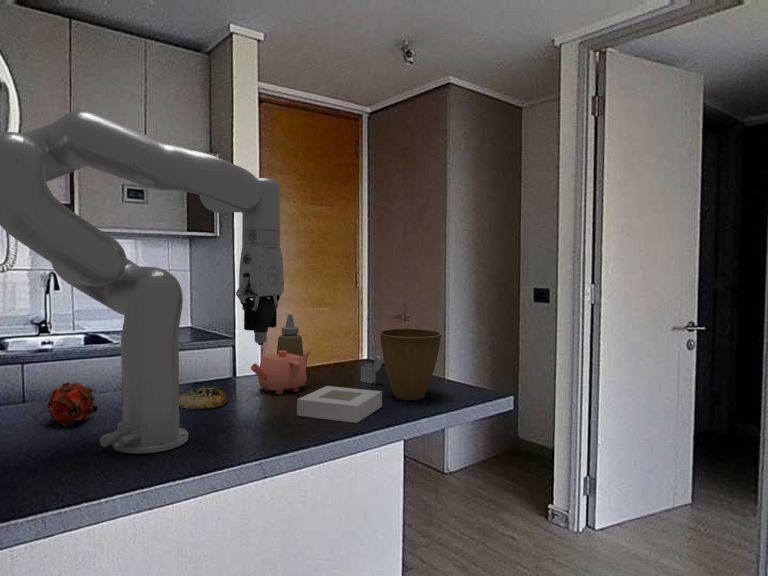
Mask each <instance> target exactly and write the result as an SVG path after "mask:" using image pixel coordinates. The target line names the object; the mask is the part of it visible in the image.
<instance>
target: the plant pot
mask: <svg viewBox="0 0 768 576" xmlns="http://www.w3.org/2000/svg"><path fill="white" fill-rule="evenodd" d="M379 336H380V344H381V351H382V357H383V358H384V360H383V363H384V367H385V370H386V374H387V375H386V376H387V379H388V382H389V384H390V388H391V391H392V394H393V396H395V397H396V399H397V398H398V399H397V400H400V399H403V400H402V401H407V400H413V401H418V400H417V399H421V400H423V399H424V398H425V396H426V395H427V392H428V390H429V387H430V384H431V381H432V378H433V375H434V371H435V367H436V364H437V359H438V354H439V352H440V351H439V350H440V344H441V339H442V332H440V331H436V330H431V329H422V328H388V329H384V330H381V331H380V332H379ZM395 397H394V398H395ZM422 398H423V399H422Z"/></svg>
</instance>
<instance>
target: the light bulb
mask: <svg viewBox="0 0 768 576" xmlns="http://www.w3.org/2000/svg"><path fill="white" fill-rule="evenodd" d="M251 301H252V302H253V299H251ZM256 311H259V330H258V331H253V332H254V333H253V334H254V339H253V340H254V342H255V343H256V344H257V345H258V346H264V344H265V343H267V340H268V335H267V334H268V331H269V328H270V327H269V324H270V322H271V320H272V319H273V317H274V313H275V308H274V304H273V303H272V301H271V300H270V299H269V297H268V298H266V297H262V296H260V298H259V303H258V307H257V310H256Z"/></svg>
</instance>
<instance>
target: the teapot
mask: <svg viewBox="0 0 768 576" xmlns="http://www.w3.org/2000/svg"><path fill="white" fill-rule="evenodd" d="M312 352H313V350H307V351H305V352H303V357H302V356H299V355H294V354H289V353H287V351H278V354H277V353H275V354H269V355H263V356H261V359H260V363H259V365H258V363H254V364H252V365H251V366H250V371H253V373H255V374H256V375H257V381H258V384H259V386H260V387H262V388H264V391H265V392H271V391H275V392H274V395H284V390H290V389H291V391H292V392H300V391H301V390H300V387H304V386H305V385H306V383H307V366H308V359H309V356H310V354H311V353H312Z"/></svg>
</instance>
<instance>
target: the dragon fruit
mask: <svg viewBox="0 0 768 576" xmlns="http://www.w3.org/2000/svg"><path fill="white" fill-rule="evenodd" d="M92 392H93V388H92V387H90V386H86V385H85V386H84V385H83V384H82V383H80V382H72V383H70V382H64V383H61V386H60V387H59V389H58V388H55V389H54V390H53V391H52V392H51V393H50V394H49V396H48V398H49V401H48V402H47V406H46V408H47V412H49V413H50V418H51V420H52V421H57V422H58V423H59V424H60V425H61V426H64V427H70V426H72V425H73V424H74V423H75V422H78V421H80V422H82V421H81V420H84V421H86V420H87V419H88V418H89V417H90V416H91V414H94V413H97V411H98V410H99V405H98V404H97V405H95V402H94V401H95V400H96V398H95V396H94V395H93V394H92ZM72 423H73V424H72ZM71 424H72V425H71Z"/></svg>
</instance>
